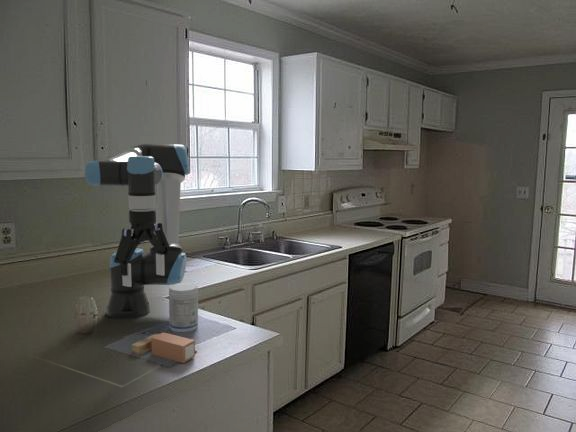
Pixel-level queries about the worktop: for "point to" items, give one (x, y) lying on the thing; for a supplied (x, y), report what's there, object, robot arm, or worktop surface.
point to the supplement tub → (183, 307)
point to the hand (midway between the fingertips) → (144, 280)
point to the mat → (125, 347)
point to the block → (173, 347)
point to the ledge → (142, 346)
